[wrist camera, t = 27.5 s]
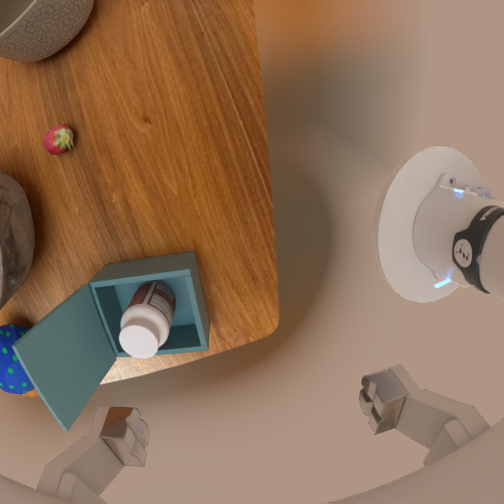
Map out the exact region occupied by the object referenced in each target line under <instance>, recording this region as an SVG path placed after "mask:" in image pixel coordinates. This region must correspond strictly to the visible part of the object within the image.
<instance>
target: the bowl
mask: <svg viewBox="0 0 504 504" xmlns="http://www.w3.org/2000/svg"><path fill="white" fill-rule="evenodd" d="M34 245H35V233H34V225H33V220H32V214H31V209H30V206H29V203H28V199H27V196H26V194H25V192H24V190H23V188H22V187H21V186H20V185H19V184H18V182H17V181H16V180H15V179H13V178H12V177H11V176H9V175H8V174H7V173H5V172H2V171H0V310H1V308H2V307H3V306H4V305H5V303H6V302H7V301H8V300H9V299H10V298H11V297H12V296H13V295H14V293H15V292H16V291H17V289H18V288H19V287H20V286H21V285H22V284H23V283H24V281H25V280H26V278H27V276H28V274H29V272H30V269H31V265H32V260H33V253H34Z"/></svg>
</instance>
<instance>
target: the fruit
mask: <svg viewBox="0 0 504 504" xmlns="http://www.w3.org/2000/svg"><path fill="white" fill-rule="evenodd" d="M43 142H44V146H45V148H46V150H47V151H48V152H49V153H50V154H53V155H54V154H60V153H62V152H64V151H65V150H67V149H68V147H69V149H70V145H71V146H73V147H74V143H73V133H72V130H71V129H70V128H69V127H68V126H66V125H63V124H60V125H57V126H56V127H52V128H51V129H50V130H49V131H48V132H47V133H46V135H45V138H44V141H43ZM70 150H71V149H70Z"/></svg>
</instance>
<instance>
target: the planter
mask: <svg viewBox="0 0 504 504" xmlns="http://www.w3.org/2000/svg"><path fill="white" fill-rule="evenodd" d="M93 4H94V0H0V57H3V58H6V59H10V60H13V61H18V62H35V61H39V60H42V59H45V58H47V57H49V56H51V55H53V54H55V53H56V52H58V51H59V50H61V49H62V48H63V47H65V46H66V45H67V44H68V43H69V42H70V41H71V40H72V39H73V38H74V37H75V36H76V35H77V34H78V33H79V31H80V30H81V29H82V27H83V26H84V24H85V23H86V21H87V19H88V18H89V16H90V13H91V11H92V8H93Z"/></svg>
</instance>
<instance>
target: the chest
mask: <svg viewBox="0 0 504 504" xmlns="http://www.w3.org/2000/svg"><path fill="white" fill-rule="evenodd" d="M149 281H158V282H162V283H164V284H166V285H167V286H168V287H169V288H170V289H171V290H172V291H173V293H174V295H175V297H176V308H175V312H174V316H173V320H172V323H171V327H170V331H169V335H168V338H167V340H166V341H165V343H164V344H163V345H161V346H160V347H158V350H157V352H156V353H155V355H164V354H176V353H187V352H197V351H206V350H208V347H209V330H210V322H209V317H208V313H207V308H206V304H205V299H204V294H203V289H202V284H201V279H200V274H199V269H198V264H197V259H196V254H195V251H192V252H185V253H178V254H171V255H165V256H158V257H152V258H145V259H138V260H132V261H125V262H119V263H112V264H106V265H105V266H104V267H103V268H102V269H101V270H100V271H99V272H98V273H97V274H96V275H95V276H94V277H93V278H92V279H91V280H90V281H89V282H88V285H89V288H90V291H91V294H92V297H93V300H94V303H95V306H96V309H97V312H98V314H99V317H100V320H101V323H102V325H103V328H104V330H105V333H106V335H107V338H108V340H109V343H110V345H111V348H112V350H113V352H114V355H115V357H133V356H131V355H129V354H128V353H127V352H126V351H125V350H124V349H123V348H122V346H121V344H120V341H119V335H120V332H121V324H120V323H121V318H122V316H123V313H124V312H125V310H126V308H127V306H128V304H129V303H130V301H131V299H132V297H133V296H134V294H135V292H136V290H137V289H138V288H139V287H140V286H141V285H142V284H144V283H146V282H149Z"/></svg>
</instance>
